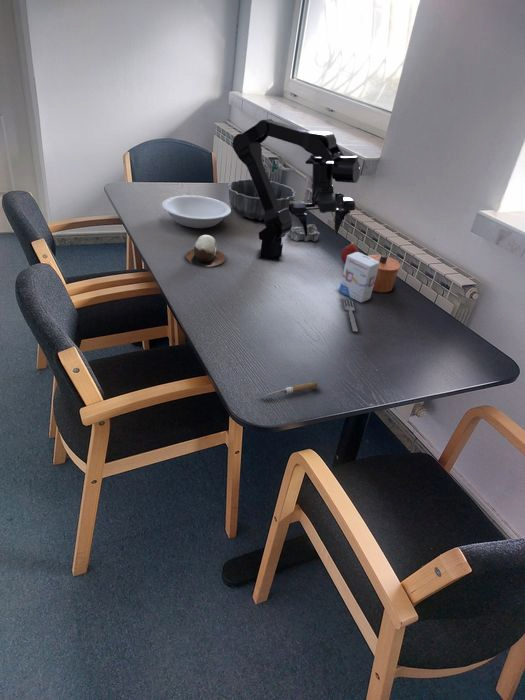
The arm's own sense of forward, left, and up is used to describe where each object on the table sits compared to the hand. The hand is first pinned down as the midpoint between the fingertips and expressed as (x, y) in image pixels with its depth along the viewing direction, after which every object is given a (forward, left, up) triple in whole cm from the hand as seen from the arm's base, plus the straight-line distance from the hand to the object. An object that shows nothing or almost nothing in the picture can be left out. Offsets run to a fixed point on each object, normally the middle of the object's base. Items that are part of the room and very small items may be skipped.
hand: (321, 234), depth 145 cm
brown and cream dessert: (-34, 0, -12) cm, 36 cm away
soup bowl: (-41, +28, -12) cm, 51 cm away
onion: (+12, +8, -12) cm, 19 cm away
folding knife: (-9, -62, -12) cm, 64 cm away
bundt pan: (-19, +48, -12) cm, 53 cm away
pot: (+19, -4, -12) cm, 23 cm away
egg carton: (-2, +28, -12) cm, 31 cm away
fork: (+9, -25, -12) cm, 29 cm away
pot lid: (+19, -4, -5) cm, 20 cm away
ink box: (+11, -13, -12) cm, 21 cm away
